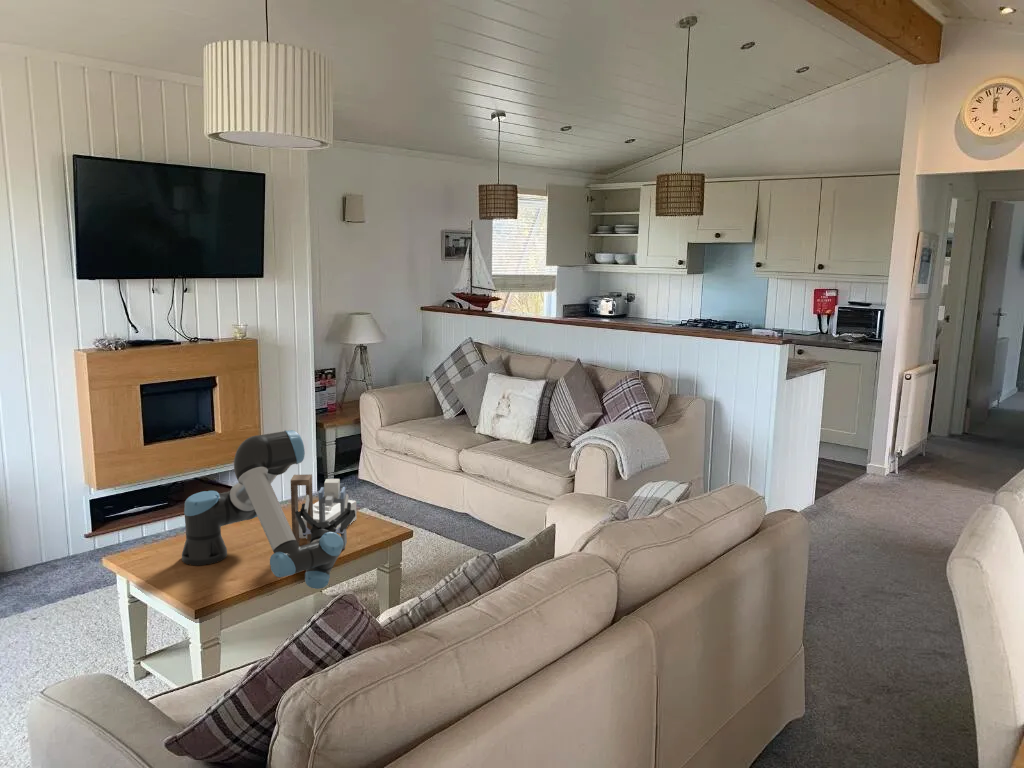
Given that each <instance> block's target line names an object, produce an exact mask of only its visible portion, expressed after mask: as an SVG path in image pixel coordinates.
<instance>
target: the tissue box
mask: <svg viewBox="0 0 1024 768" xmlns="http://www.w3.org/2000/svg"><path fill="white" fill-rule="evenodd" d="M348 502H350V503H351V510H355V515H356V516H355V517H354V519H353V520H352V521H351V523H352V522H353V521H355V520H356V519H357V518H358V517H357V500H354V499H353V500H351V499H349V501H348ZM340 514H341V509H340V503H332V506H325V522H326V521H329V522H331V521H332V520H333V519H335V518H337V517H338V516H339V515H340ZM301 517H302V516H301ZM302 519H303V521H304V523H305V525H306V527H307V521H306V520H305V519H304V518H303V517H302ZM313 519H314V520H315V521H316V522H317V523H318V522H319V500H318V501H316V502H315V503H314V502H313ZM356 521H357V520H356ZM356 521H355V522H356ZM351 523H350V525H352V524H353V523H354V522H353V523H352V524H351ZM339 526H341V523H340V524H339V525H338V526H337V527H336V529H338V528H339ZM304 538H306V540H307V535H306V536H303V533H302V529H301V527H300V525H299V539H304Z"/></svg>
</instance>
